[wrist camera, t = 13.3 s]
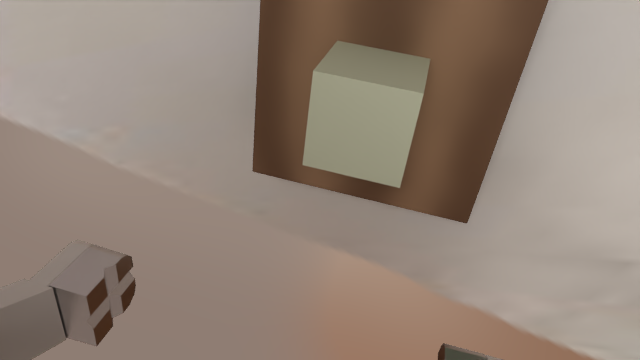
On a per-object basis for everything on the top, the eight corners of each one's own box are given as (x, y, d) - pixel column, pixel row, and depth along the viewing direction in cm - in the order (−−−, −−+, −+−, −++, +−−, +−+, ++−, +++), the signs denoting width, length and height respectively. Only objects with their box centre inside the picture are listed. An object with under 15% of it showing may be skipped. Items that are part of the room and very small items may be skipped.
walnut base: (272, 144, 35) (252, 171, 32) (288, -71, 27) (263, -65, 24) (466, 189, 33) (467, 223, 29) (542, -30, 25) (554, -17, 22)
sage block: (325, 124, 28) (302, 164, 24) (337, 40, 26) (313, 70, 22) (409, 142, 28) (399, 188, 24) (430, 58, 25) (423, 93, 21)
